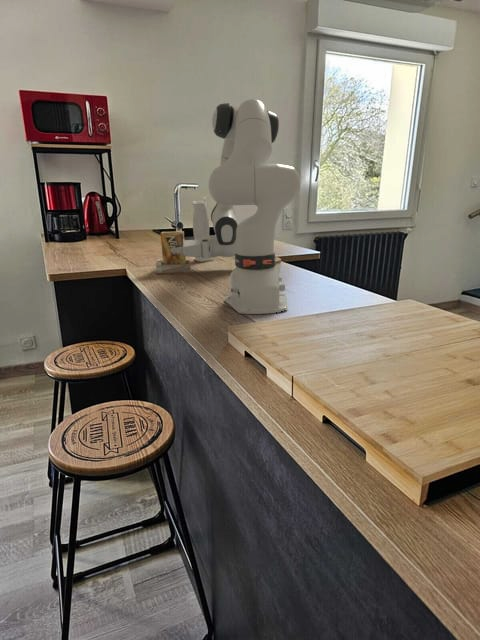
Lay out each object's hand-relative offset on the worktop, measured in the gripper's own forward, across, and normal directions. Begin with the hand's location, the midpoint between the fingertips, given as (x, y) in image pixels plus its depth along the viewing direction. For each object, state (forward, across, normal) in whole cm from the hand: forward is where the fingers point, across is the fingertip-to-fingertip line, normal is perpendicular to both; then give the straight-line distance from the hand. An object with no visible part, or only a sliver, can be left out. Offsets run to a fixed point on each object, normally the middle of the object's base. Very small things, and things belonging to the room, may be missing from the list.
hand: (171, 248), depth 169 cm
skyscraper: (-13, -21, +10) cm, 27 cm away
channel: (0, 0, +10) cm, 10 cm away
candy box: (-1, 0, +9) cm, 9 cm away
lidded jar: (-34, +23, +10) cm, 42 cm away
